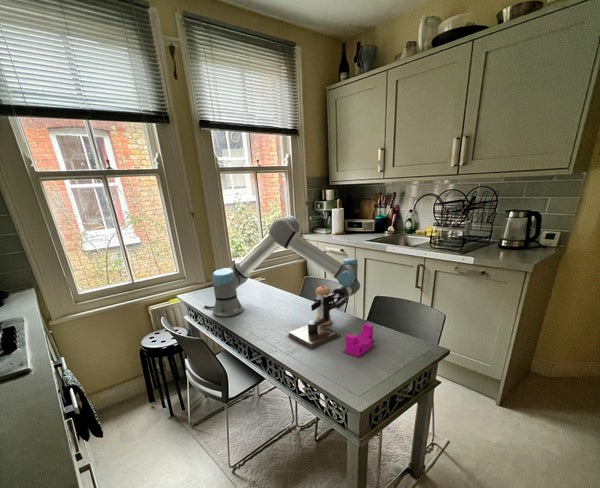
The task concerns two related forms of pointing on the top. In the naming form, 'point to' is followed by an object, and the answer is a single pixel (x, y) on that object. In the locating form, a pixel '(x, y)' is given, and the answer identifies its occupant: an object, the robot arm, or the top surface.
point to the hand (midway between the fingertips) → (318, 309)
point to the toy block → (360, 341)
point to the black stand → (314, 324)
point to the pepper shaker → (320, 293)
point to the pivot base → (313, 336)
